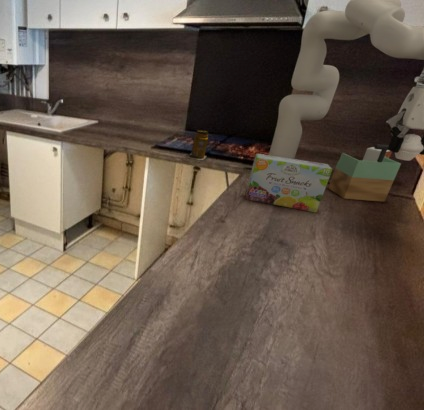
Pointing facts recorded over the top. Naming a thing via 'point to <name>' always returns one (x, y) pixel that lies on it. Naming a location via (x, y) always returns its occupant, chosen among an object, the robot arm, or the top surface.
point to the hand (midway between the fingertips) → (406, 151)
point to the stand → (359, 187)
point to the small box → (374, 154)
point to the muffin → (410, 147)
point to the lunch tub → (369, 166)
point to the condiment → (199, 145)
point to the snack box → (288, 182)
